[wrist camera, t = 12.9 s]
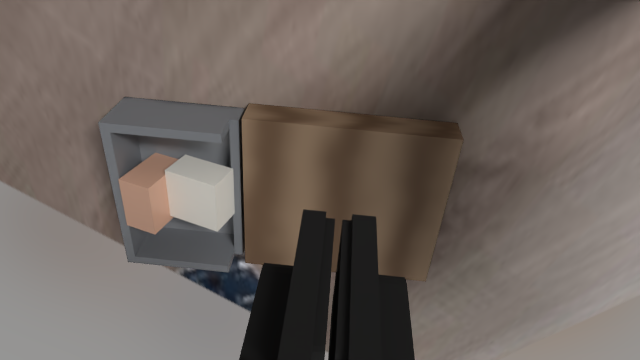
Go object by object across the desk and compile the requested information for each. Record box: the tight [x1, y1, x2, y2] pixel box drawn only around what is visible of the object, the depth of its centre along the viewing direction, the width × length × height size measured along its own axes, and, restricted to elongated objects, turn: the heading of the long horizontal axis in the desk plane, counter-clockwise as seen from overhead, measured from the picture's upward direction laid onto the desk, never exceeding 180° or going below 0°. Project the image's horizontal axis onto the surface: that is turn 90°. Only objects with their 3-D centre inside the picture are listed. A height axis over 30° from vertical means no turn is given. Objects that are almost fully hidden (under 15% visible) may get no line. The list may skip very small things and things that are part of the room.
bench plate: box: [242, 103, 463, 281], centre depth 44 cm, size 18×16×3 cm
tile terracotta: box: [118, 153, 179, 234], centre depth 43 cm, size 5×5×3 cm
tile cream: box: [165, 155, 235, 232], centre depth 43 cm, size 5×5×3 cm
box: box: [98, 97, 245, 272], centre depth 44 cm, size 11×15×5 cm
